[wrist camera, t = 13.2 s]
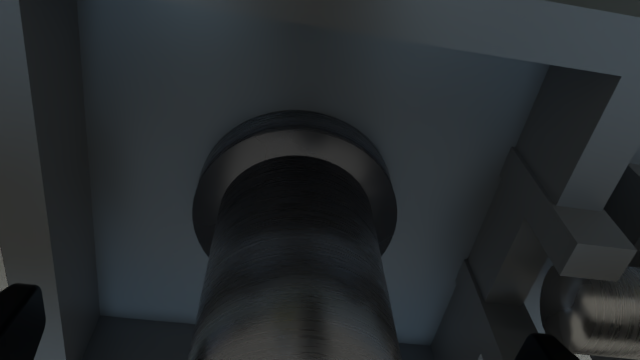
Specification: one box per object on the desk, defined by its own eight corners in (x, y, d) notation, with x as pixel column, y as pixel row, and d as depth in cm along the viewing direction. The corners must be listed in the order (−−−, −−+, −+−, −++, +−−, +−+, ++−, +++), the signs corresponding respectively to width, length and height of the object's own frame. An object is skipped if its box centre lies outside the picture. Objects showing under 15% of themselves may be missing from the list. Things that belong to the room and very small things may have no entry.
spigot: (368, 276, 15) (427, 638, 8) (195, 258, 14) (104, 634, 8) (412, 125, 12) (553, 471, 6) (203, 96, 12) (79, 444, 5)
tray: (536, 361, 18) (594, 488, 15) (73, 320, 16) (11, 454, 13) (747, 10, 12) (942, 85, 8) (23, -123, 10) (-129, -101, 6)
